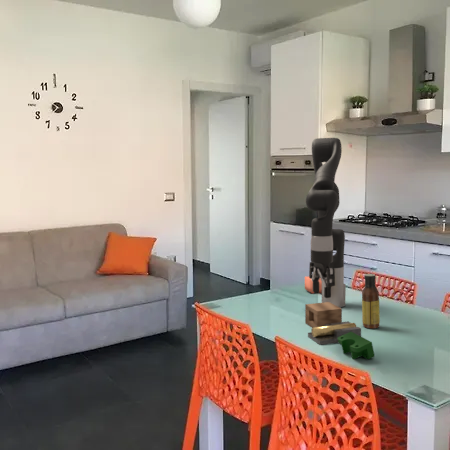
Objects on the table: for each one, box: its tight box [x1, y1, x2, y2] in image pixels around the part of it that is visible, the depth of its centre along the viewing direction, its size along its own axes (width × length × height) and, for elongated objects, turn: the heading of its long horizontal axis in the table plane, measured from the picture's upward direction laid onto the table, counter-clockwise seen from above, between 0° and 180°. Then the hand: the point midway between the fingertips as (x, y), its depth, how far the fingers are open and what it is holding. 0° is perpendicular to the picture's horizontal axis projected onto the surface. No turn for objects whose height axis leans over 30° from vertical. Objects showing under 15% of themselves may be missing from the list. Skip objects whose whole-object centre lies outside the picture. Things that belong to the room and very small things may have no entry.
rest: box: [307, 321, 362, 346], centre depth 183 cm, size 16×9×4 cm, turn 107°
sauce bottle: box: [361, 273, 381, 330], centre depth 194 cm, size 7×6×20 cm
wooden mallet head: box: [304, 302, 343, 329], centre depth 196 cm, size 10×10×8 cm
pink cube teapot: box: [304, 275, 322, 295], centre depth 249 cm, size 8×12×8 cm, turn 13°
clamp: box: [337, 332, 375, 360], centre depth 166 cm, size 12×6×9 cm, turn 14°
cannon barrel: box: [310, 322, 358, 337], centre depth 182 cm, size 16×3×3 cm, turn 107°
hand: (321, 294), depth 180 cm, fingers open, 8 cm apart
